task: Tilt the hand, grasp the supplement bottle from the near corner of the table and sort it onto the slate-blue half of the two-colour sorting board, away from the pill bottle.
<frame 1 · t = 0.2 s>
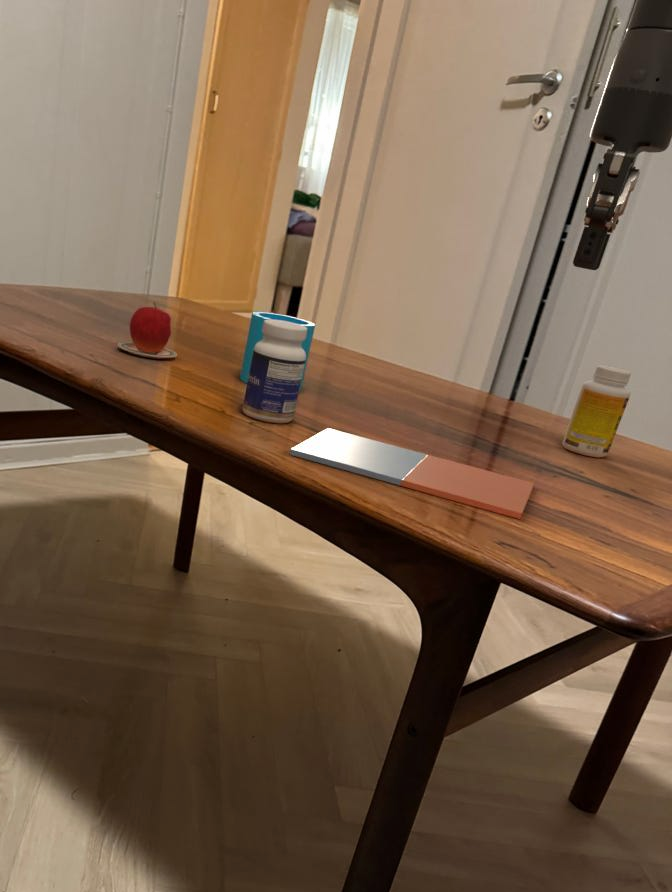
hand: (585, 268, 95), 20 cm above the table, tool pointing down, fingers open, 8 cm apart
pill bottle: (266, 418, 100), on the table
supplement bottle: (582, 453, 113), on the table
mug: (277, 384, 119), on the table
apple: (146, 355, 122), on the table
sorting board: (413, 472, 89), on the table
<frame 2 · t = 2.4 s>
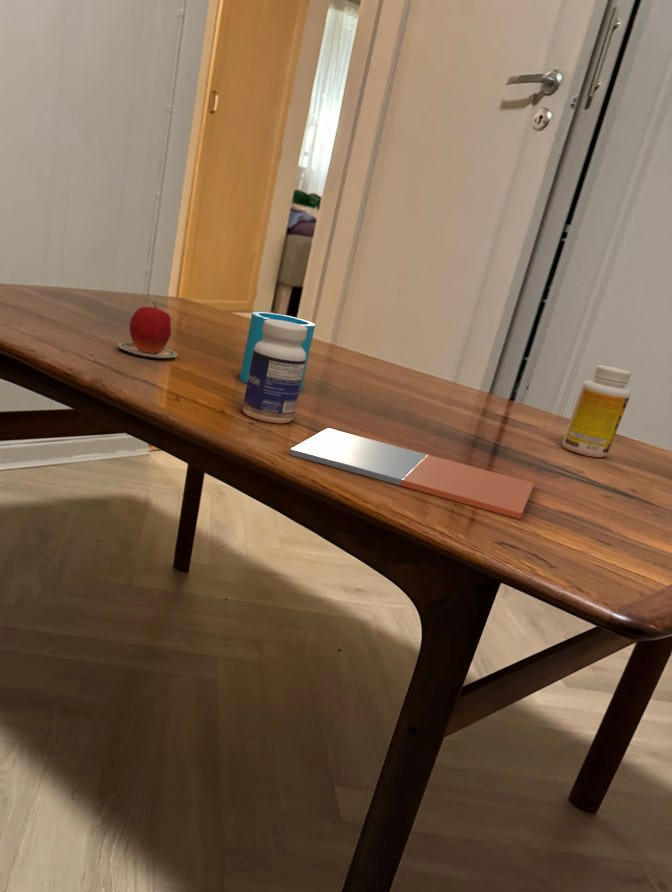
nothing on the table moved.
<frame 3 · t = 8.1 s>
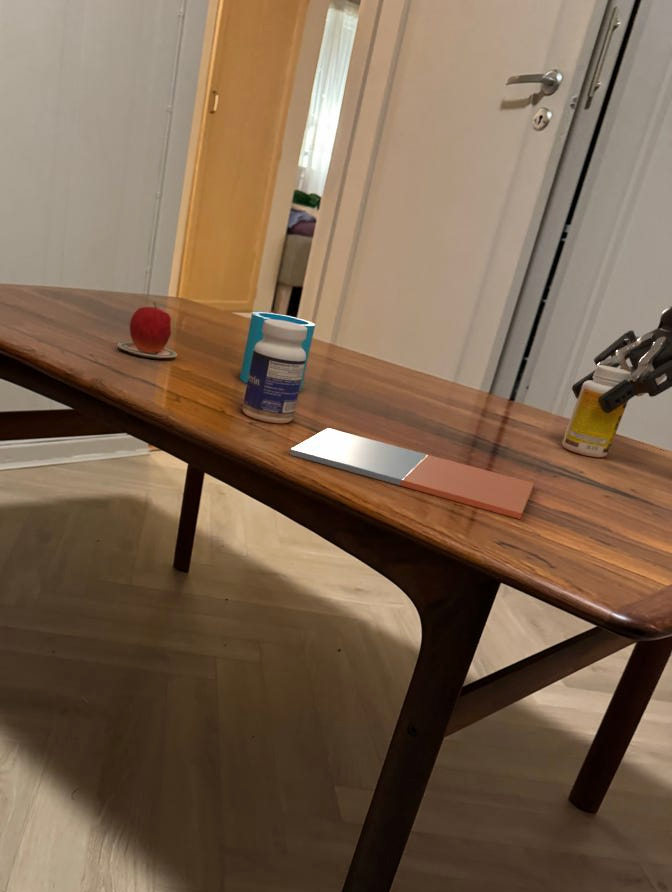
hand: (589, 400, 110), 6 cm above the table, tool tilted 45°, fingers closed on supplement bottle, 5 cm apart
supplement bottle: (582, 453, 113), on the table, touching gripper
everything else where it was.
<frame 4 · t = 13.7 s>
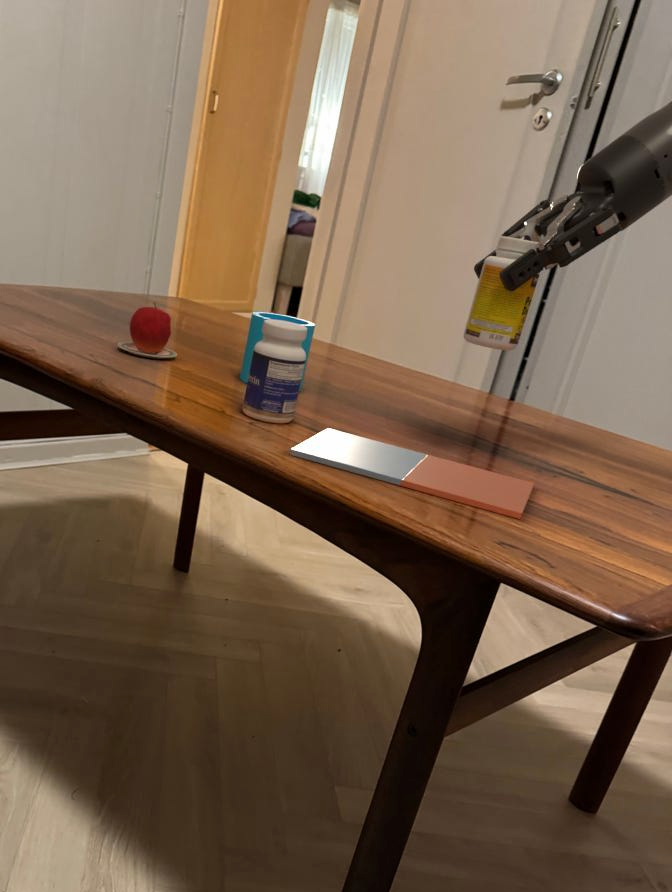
hand: (491, 279, 90), 18 cm above the table, tool tilted 45°, fingers closed on supplement bottle, 5 cm apart
supplement bottle: (488, 347, 94), point 11 cm above the table, touching gripper
everything else where it was.
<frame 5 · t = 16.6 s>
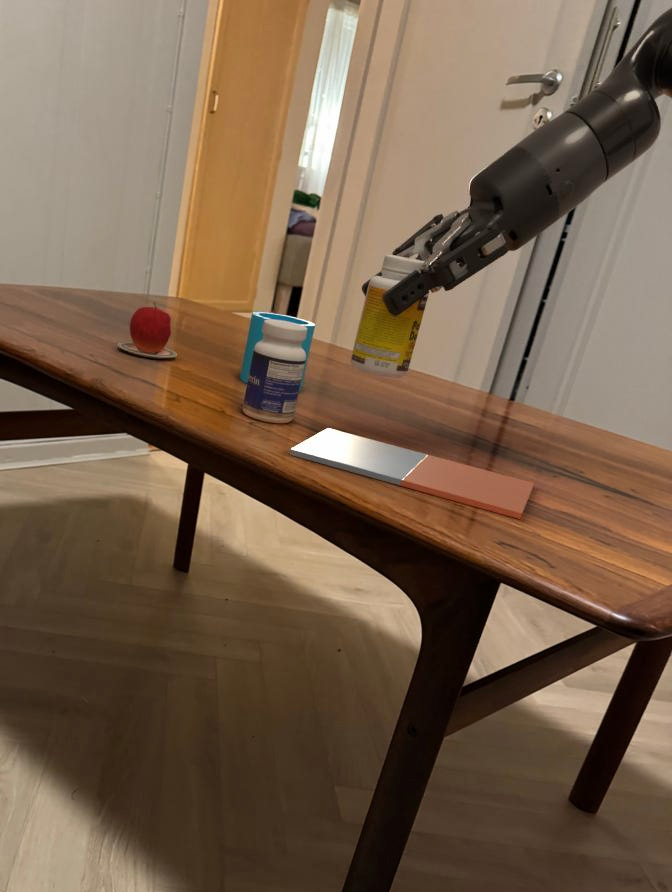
hand: (377, 301, 83), 15 cm above the table, tool tilted 45°, fingers closed on supplement bottle, 5 cm apart
supplement bottle: (376, 374, 87), point 8 cm above the table, touching gripper
everything else where it was.
when the fingers open (7 cm above the table, at t = 19.2 s): supplement bottle stays where it is, resting on sorting board.
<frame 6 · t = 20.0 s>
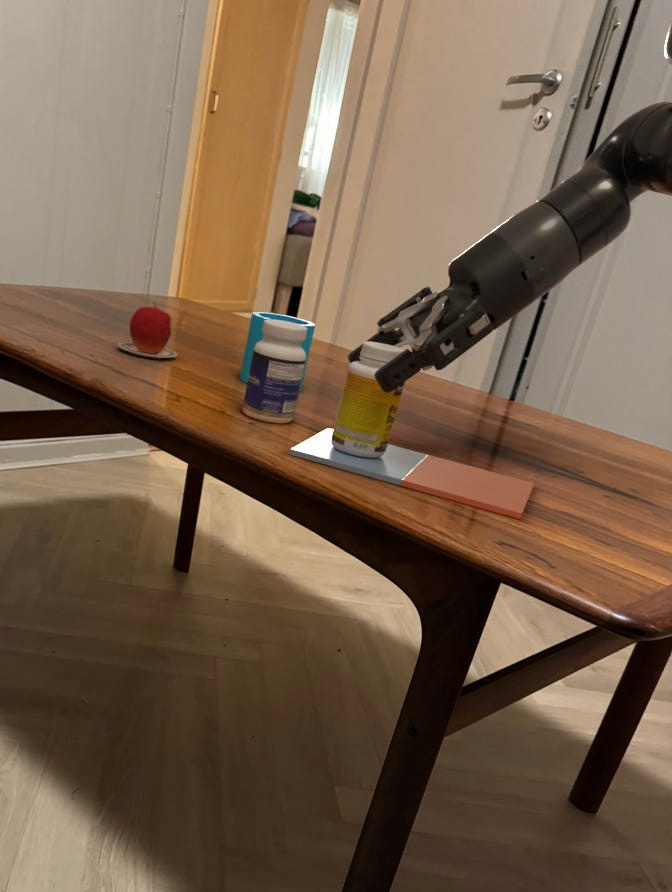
hand: (365, 374, 86), 8 cm above the table, tool tilted 45°, fingers open, 8 cm apart
supplement bottle: (356, 452, 90), resting on sorting board
everything else where it was.
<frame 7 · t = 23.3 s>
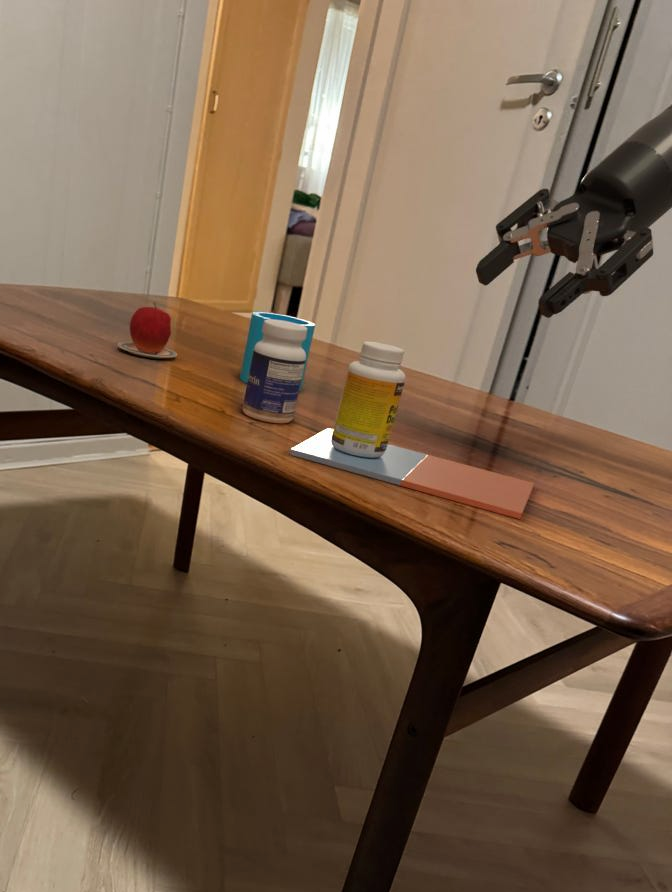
hand: (510, 293, 85), 17 cm above the table, tool tilted 45°, fingers open, 8 cm apart
nothing on the table moved.
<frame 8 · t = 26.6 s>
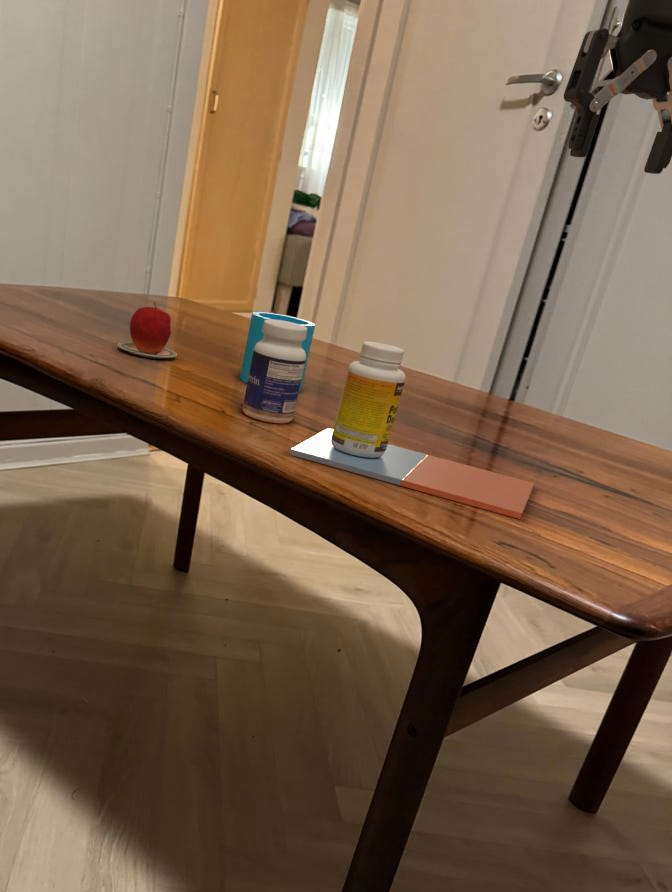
hand: (615, 165, 91), 30 cm above the table, tool pointing down, fingers open, 8 cm apart
nothing on the table moved.
at the end: supplement bottle inside the target area on the sorting board (0.7 cm from its centre), point 0.4 cm above the sorting board's base; supplement bottle tilted 0°; the gripper is holding nothing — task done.
